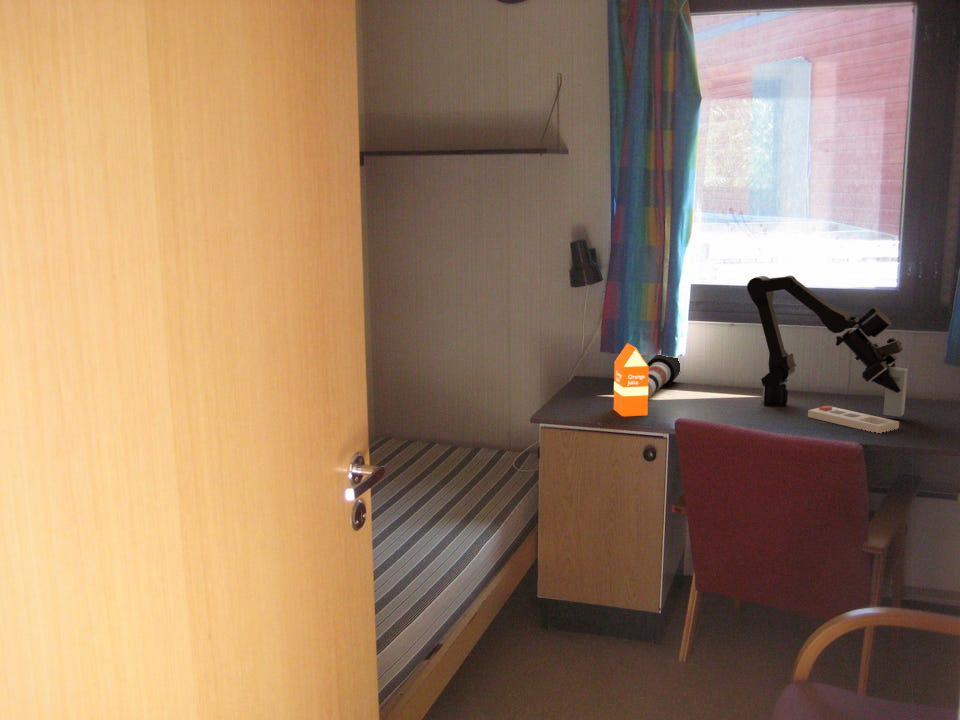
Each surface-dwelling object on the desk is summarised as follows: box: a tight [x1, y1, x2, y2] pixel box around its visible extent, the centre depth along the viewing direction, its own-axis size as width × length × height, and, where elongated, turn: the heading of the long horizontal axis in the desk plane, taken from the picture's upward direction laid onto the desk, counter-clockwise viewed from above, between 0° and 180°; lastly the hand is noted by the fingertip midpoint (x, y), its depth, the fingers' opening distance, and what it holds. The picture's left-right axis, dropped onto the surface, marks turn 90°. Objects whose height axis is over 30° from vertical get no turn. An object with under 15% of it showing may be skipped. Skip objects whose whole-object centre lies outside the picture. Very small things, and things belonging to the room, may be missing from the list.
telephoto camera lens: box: [646, 354, 681, 399], centre depth 299 cm, size 10×34×10 cm, turn 153°
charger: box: [882, 366, 909, 417], centre depth 259 cm, size 5×5×13 cm
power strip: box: [807, 405, 900, 434], centre depth 257 cm, size 22×9×3 cm, turn 33°
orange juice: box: [613, 342, 649, 417], centre depth 270 cm, size 8×9×20 cm
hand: (900, 390), depth 258 cm, fingers closed on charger, 5 cm apart
